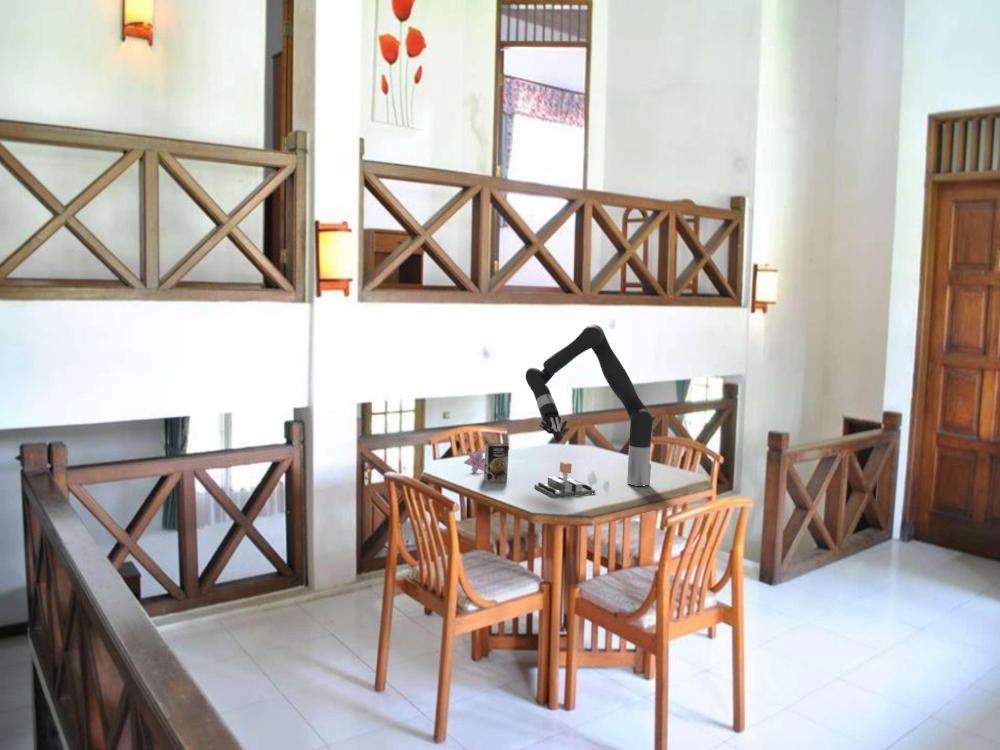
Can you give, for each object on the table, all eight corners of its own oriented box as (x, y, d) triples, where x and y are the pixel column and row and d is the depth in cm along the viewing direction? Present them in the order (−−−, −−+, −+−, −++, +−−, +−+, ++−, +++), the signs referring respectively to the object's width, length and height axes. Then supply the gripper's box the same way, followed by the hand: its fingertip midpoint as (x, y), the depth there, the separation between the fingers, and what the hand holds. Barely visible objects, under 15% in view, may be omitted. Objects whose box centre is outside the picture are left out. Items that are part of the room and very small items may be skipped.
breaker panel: (575, 484, 356) (576, 474, 356) (595, 493, 342) (595, 483, 341) (534, 488, 348) (534, 477, 347) (552, 497, 333) (553, 486, 333)
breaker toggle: (565, 484, 347) (566, 461, 346) (570, 487, 343) (571, 463, 342) (559, 485, 346) (560, 462, 344) (563, 487, 342) (564, 464, 341)
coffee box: (487, 482, 354) (488, 445, 352) (483, 479, 360) (484, 442, 358) (507, 482, 356) (509, 445, 354) (503, 478, 362) (505, 442, 360)
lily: (458, 475, 370) (466, 459, 366) (461, 460, 381) (468, 444, 376) (484, 483, 372) (491, 467, 367) (485, 468, 382) (492, 452, 378)
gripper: (536, 402, 352) (549, 436, 342) (563, 401, 357) (576, 435, 348) (530, 412, 357) (542, 446, 348) (557, 412, 363) (569, 444, 353)
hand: (559, 440), depth 348 cm, fingers closed
